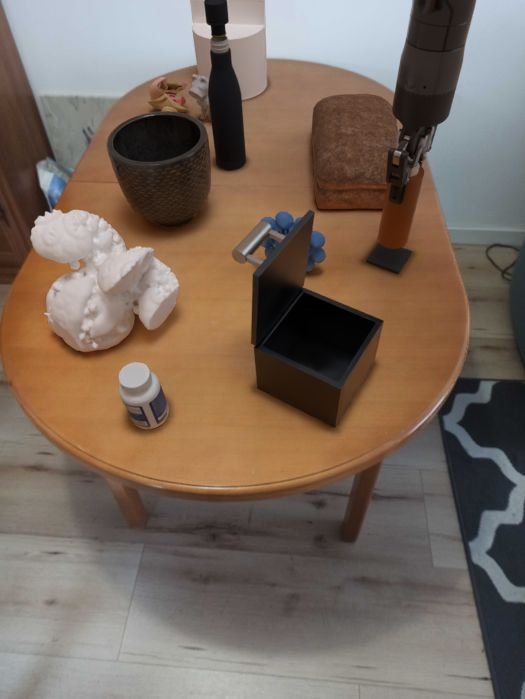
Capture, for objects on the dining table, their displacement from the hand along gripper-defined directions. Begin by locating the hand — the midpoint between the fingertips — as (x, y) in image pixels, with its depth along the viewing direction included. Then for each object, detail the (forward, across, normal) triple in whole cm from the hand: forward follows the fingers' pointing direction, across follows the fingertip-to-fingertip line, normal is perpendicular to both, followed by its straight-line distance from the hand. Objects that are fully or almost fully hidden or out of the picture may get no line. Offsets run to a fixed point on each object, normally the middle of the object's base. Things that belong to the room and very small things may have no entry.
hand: (403, 191), depth 78 cm
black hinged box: (+14, -28, -1) cm, 32 cm away
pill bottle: (+14, -46, +16) cm, 51 cm away
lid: (-3, -28, +4) cm, 29 cm away
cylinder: (+14, +40, +60) cm, 73 cm away
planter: (+14, -9, +41) cm, 44 cm away
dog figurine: (+14, +25, +55) cm, 62 cm away
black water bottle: (+14, +11, +41) cm, 45 cm away
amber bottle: (+9, 0, 0) cm, 9 cm away
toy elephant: (+14, +21, +66) cm, 71 cm away
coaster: (+14, 0, 0) cm, 14 cm away
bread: (+14, +21, +17) cm, 31 cm away
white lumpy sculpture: (+14, -34, +32) cm, 49 cm away
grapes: (+14, -12, +13) cm, 22 cm away
